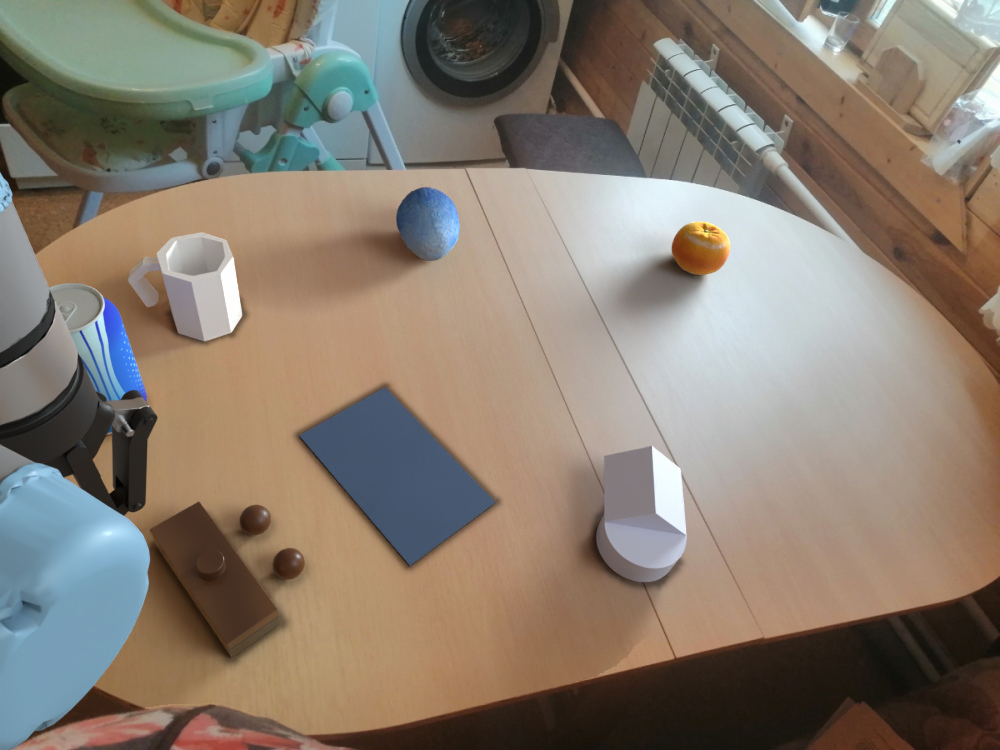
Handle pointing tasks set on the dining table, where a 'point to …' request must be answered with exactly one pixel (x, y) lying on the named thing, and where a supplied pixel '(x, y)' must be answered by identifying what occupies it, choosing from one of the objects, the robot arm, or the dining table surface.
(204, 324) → the mug
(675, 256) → the fruit
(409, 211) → the egg
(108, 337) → the beer can
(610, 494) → the wedge on round base
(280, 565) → the ball
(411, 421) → the mat
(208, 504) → the dining table surface
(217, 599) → the brown block with knob
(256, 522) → the ball
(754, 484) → the dining table surface
